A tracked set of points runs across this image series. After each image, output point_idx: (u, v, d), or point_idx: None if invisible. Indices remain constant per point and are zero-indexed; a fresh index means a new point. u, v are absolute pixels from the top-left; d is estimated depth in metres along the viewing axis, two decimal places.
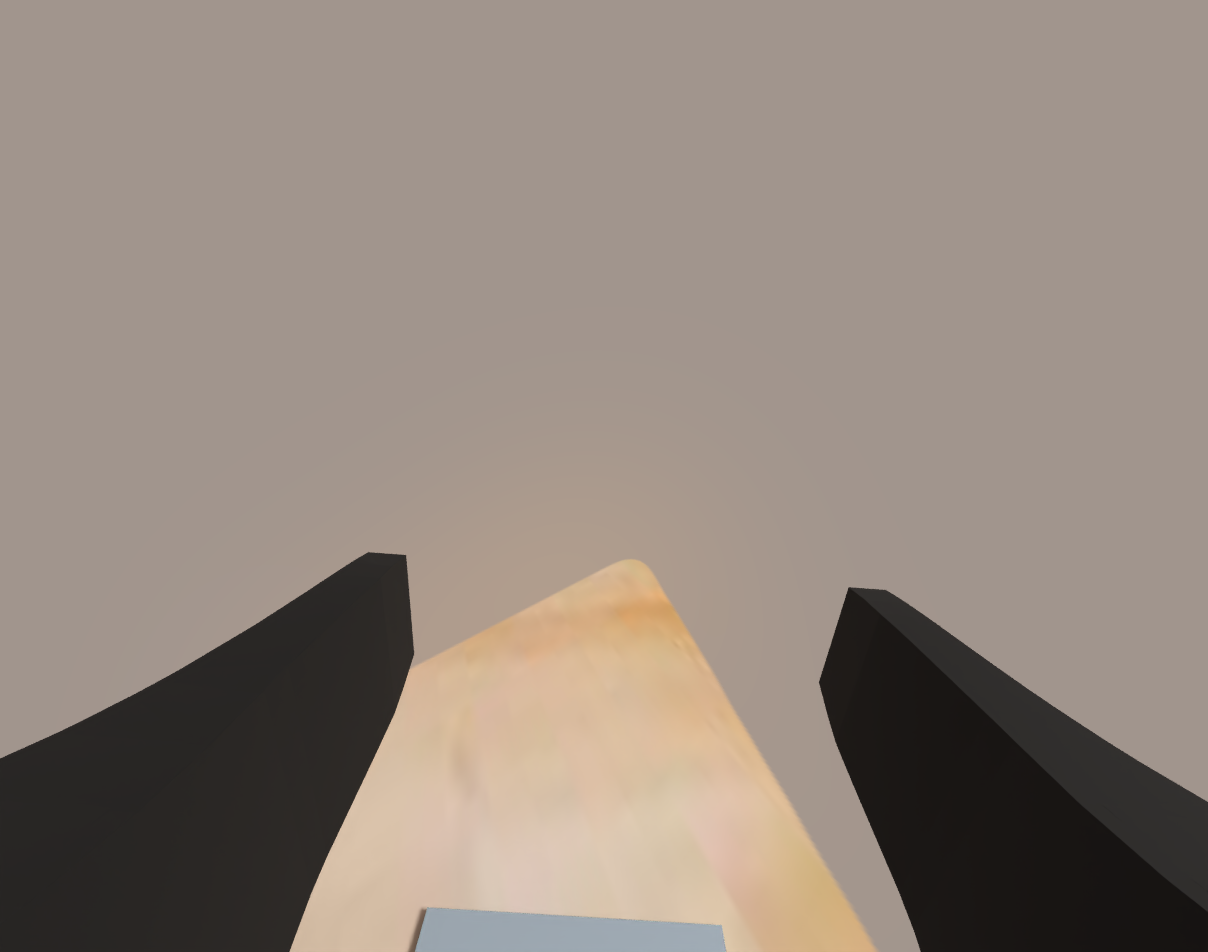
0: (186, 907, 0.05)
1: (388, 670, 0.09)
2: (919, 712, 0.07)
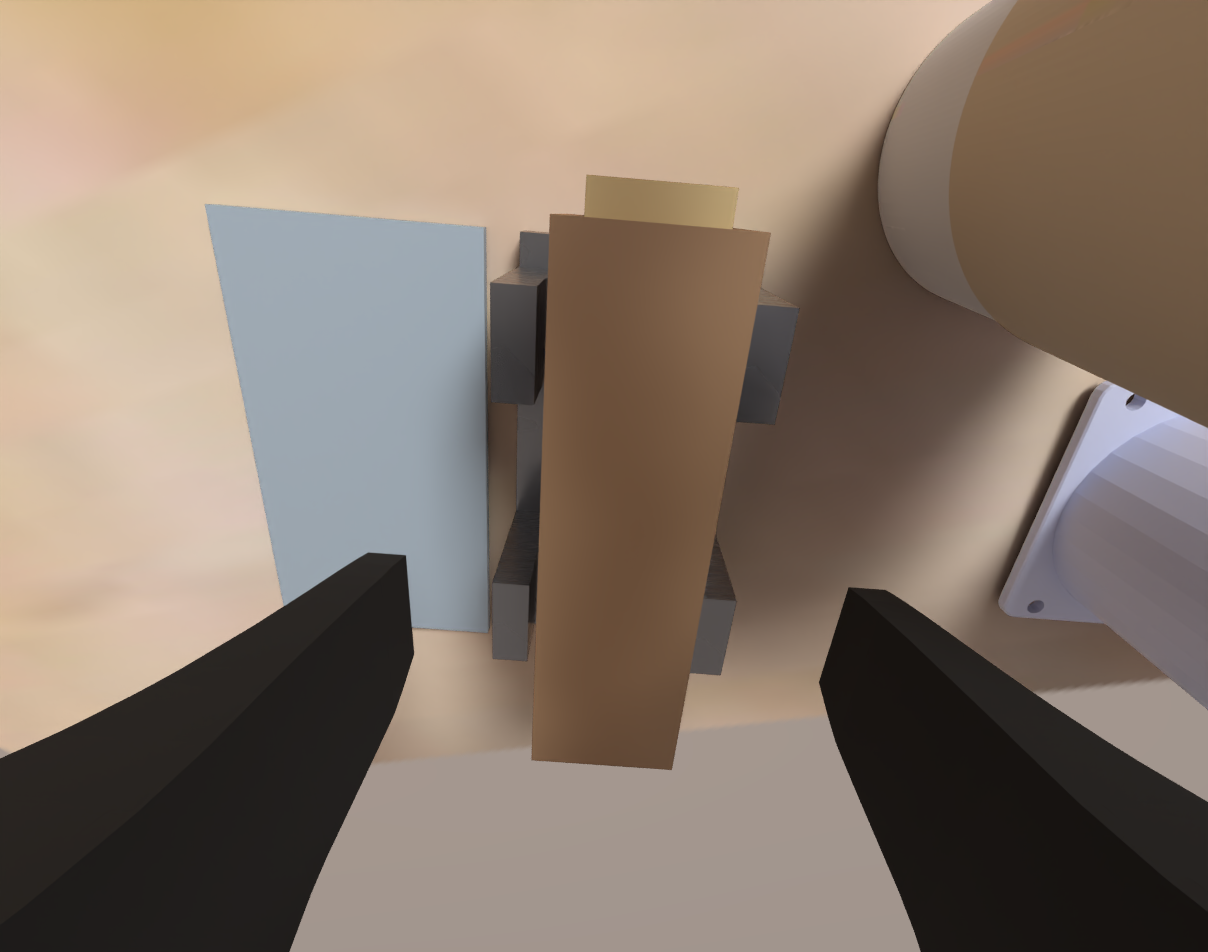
0: (186, 907, 0.05)
1: (388, 670, 0.09)
2: (919, 712, 0.07)
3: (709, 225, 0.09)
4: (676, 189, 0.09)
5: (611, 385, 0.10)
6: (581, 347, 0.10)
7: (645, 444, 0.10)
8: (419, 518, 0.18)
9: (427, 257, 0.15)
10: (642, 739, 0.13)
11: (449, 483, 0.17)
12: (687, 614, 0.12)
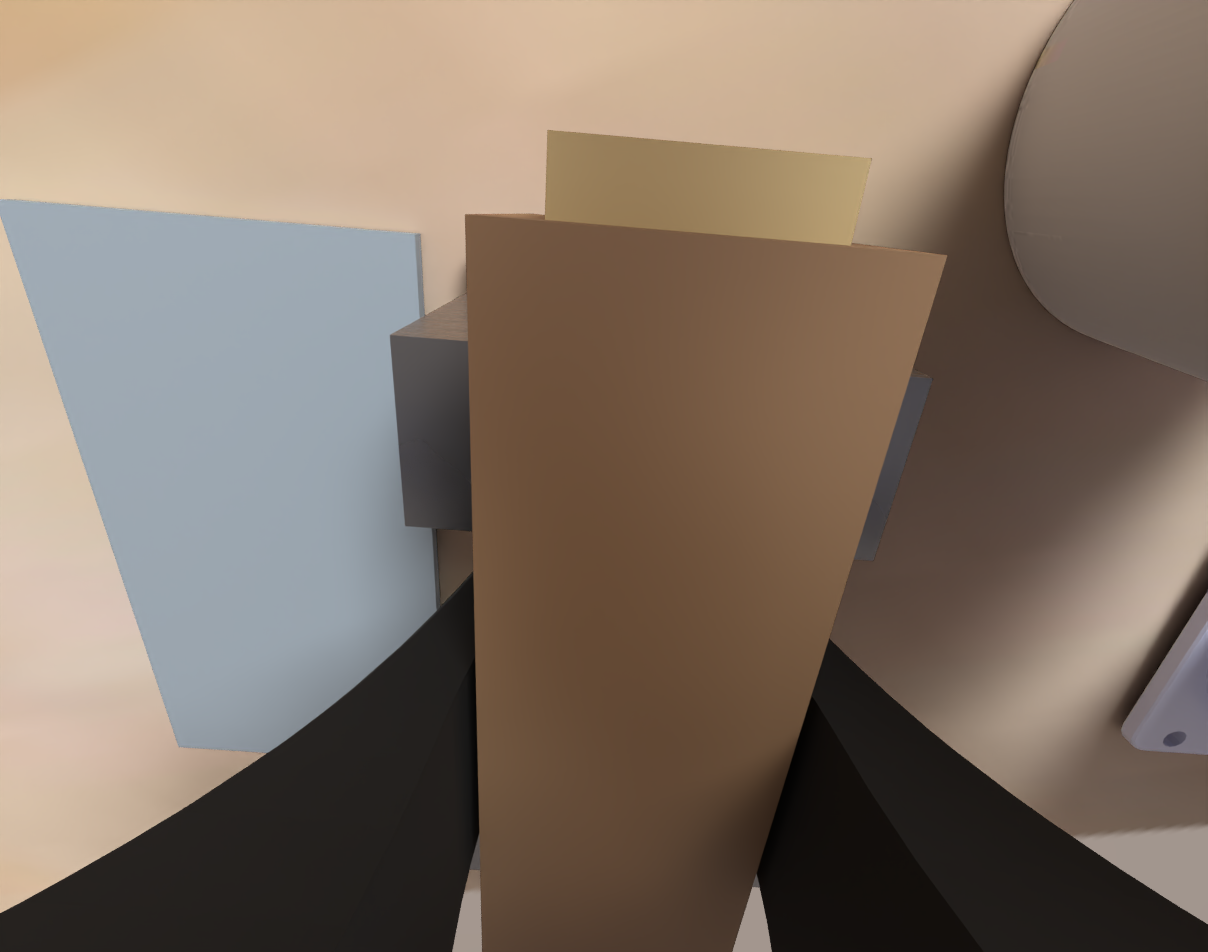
0: (412, 921, 0.05)
1: None
2: None
3: (803, 237, 0.04)
4: (738, 162, 0.04)
5: (602, 545, 0.05)
6: (542, 479, 0.05)
7: (665, 642, 0.06)
8: (345, 627, 0.13)
9: (334, 278, 0.10)
10: None
11: (384, 584, 0.13)
12: (732, 882, 0.07)
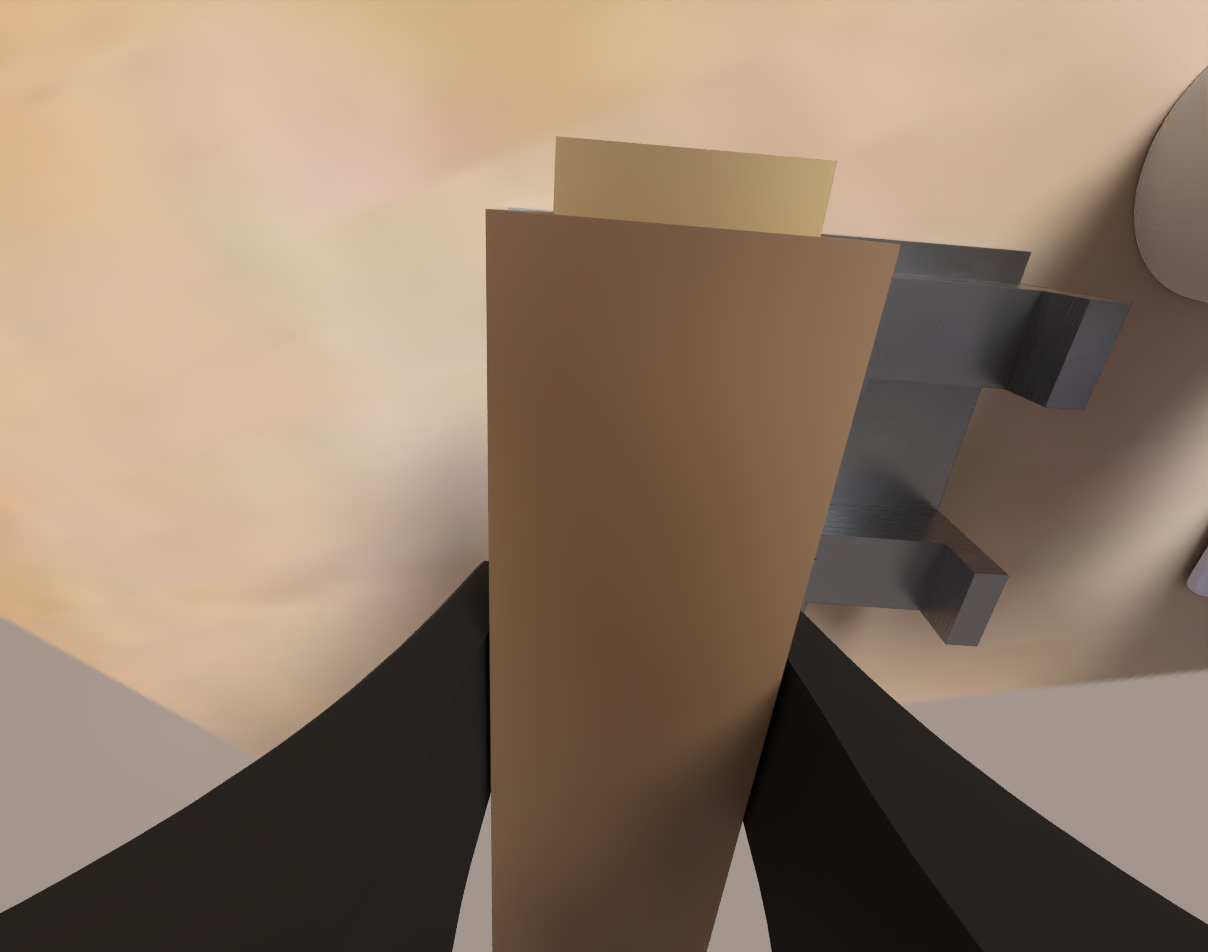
0: (412, 921, 0.05)
1: None
2: None
3: (779, 230, 0.05)
4: (721, 164, 0.05)
5: (604, 503, 0.06)
6: (550, 443, 0.05)
7: (660, 593, 0.06)
8: None
9: None
10: None
11: None
12: (722, 823, 0.08)
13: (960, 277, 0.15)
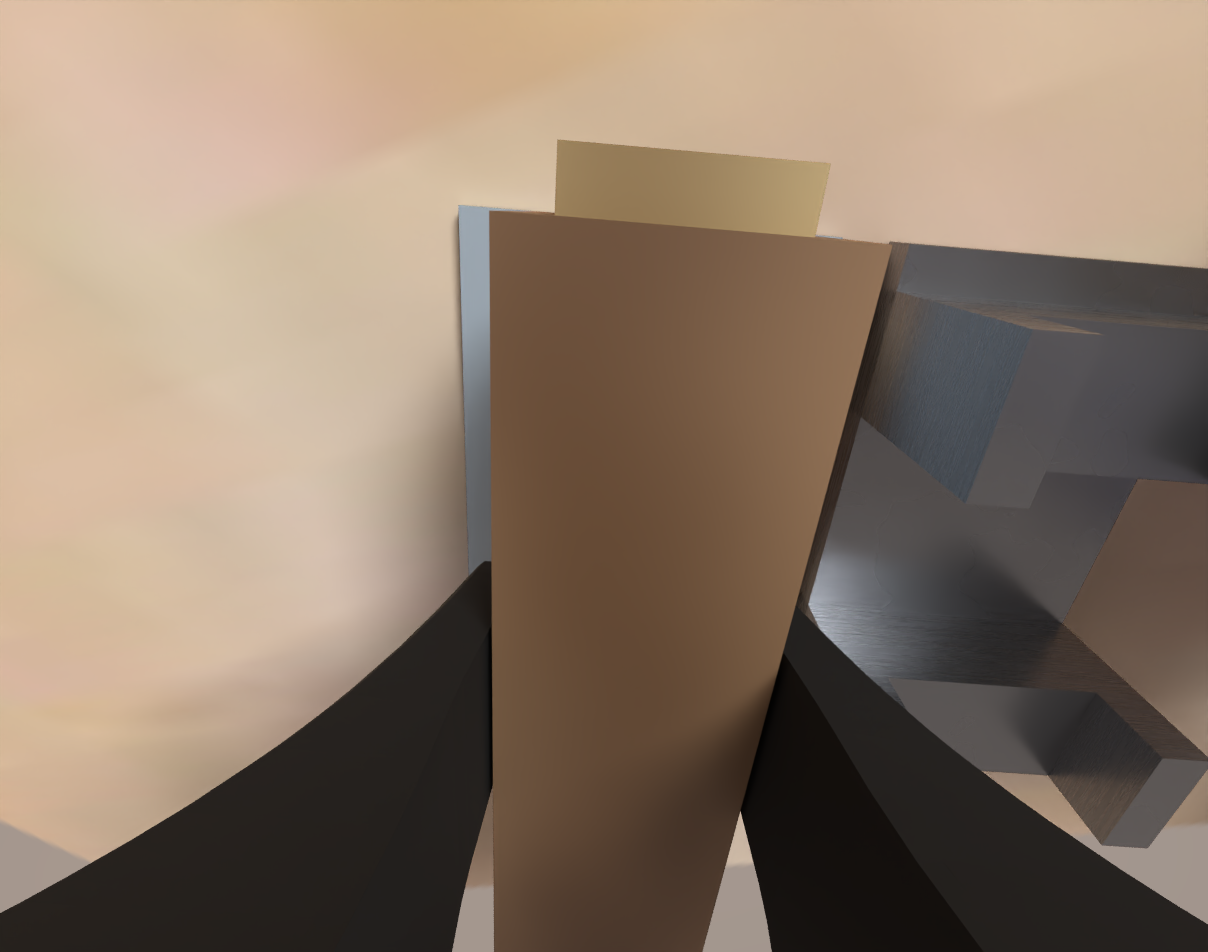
0: (412, 921, 0.05)
1: None
2: (774, 702, 0.07)
3: (774, 230, 0.05)
4: (718, 166, 0.05)
5: (604, 498, 0.06)
6: (551, 439, 0.06)
7: (660, 586, 0.06)
8: None
9: None
10: None
11: None
12: (720, 814, 0.08)
13: (1133, 309, 0.10)
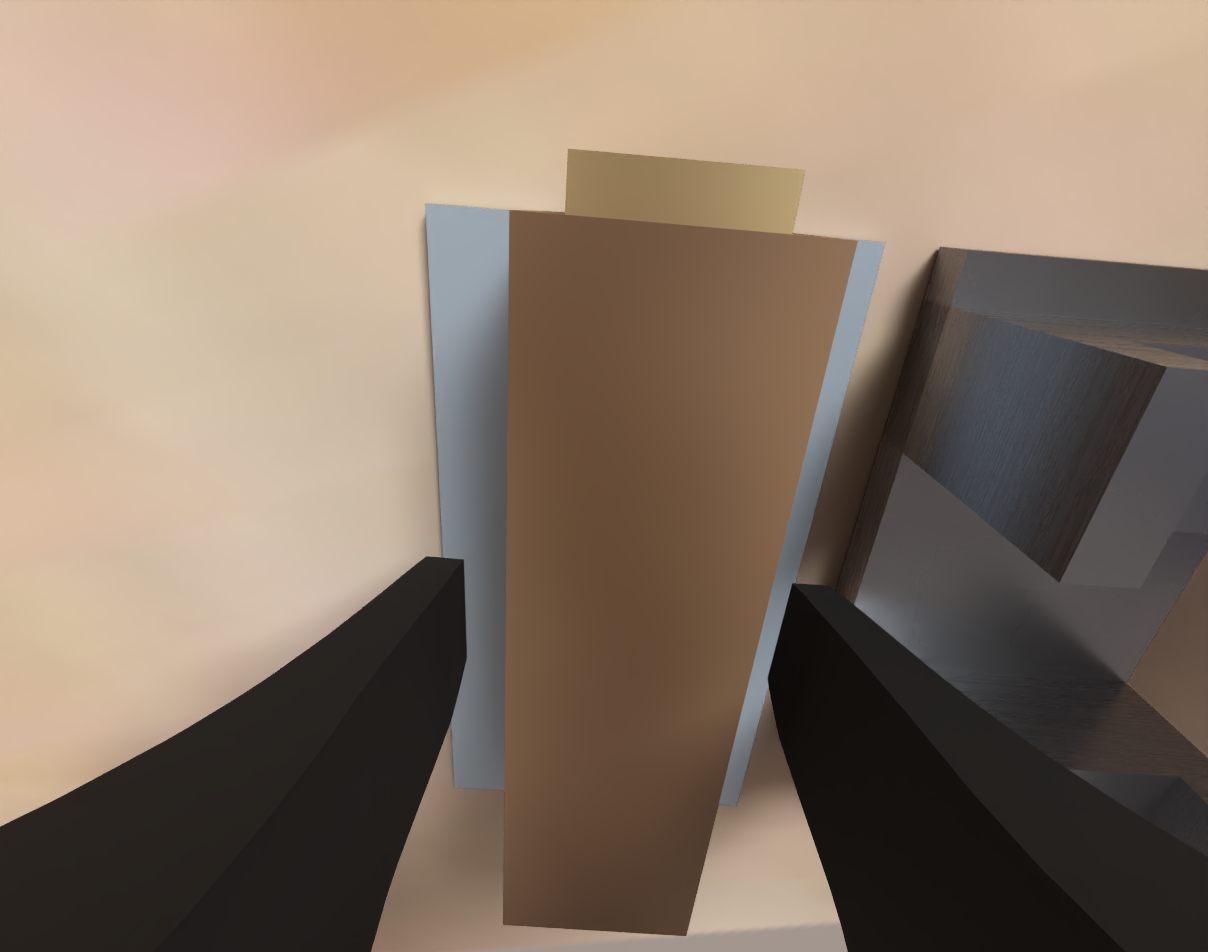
0: (298, 914, 0.05)
1: (449, 674, 0.09)
2: (847, 707, 0.07)
3: (757, 228, 0.06)
4: (708, 172, 0.06)
5: (608, 464, 0.07)
6: (561, 412, 0.06)
7: (656, 546, 0.07)
8: None
9: None
10: (648, 902, 0.10)
11: None
12: (711, 761, 0.09)
13: None
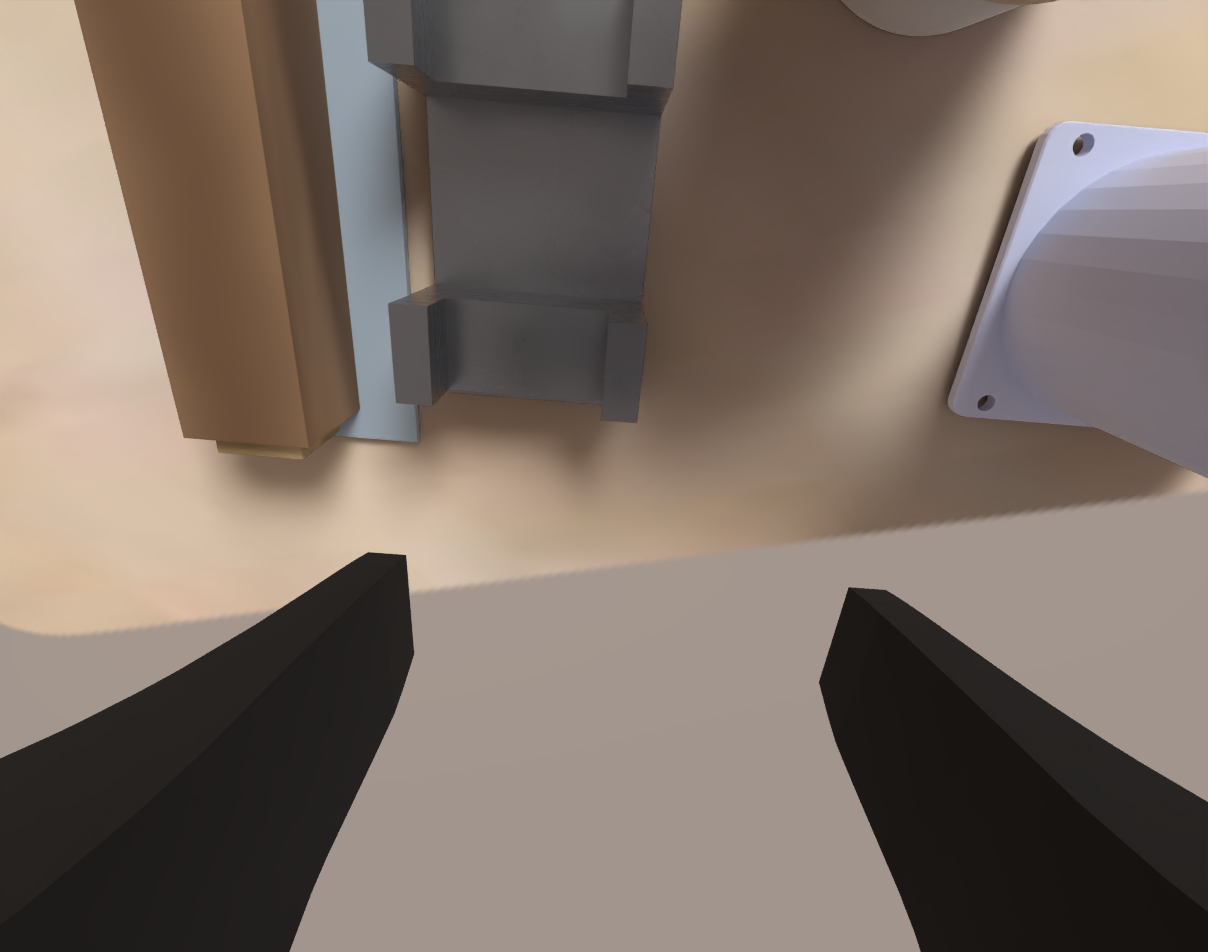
0: (186, 907, 0.05)
1: (388, 670, 0.09)
2: (919, 712, 0.07)
3: None
4: None
5: (133, 10, 0.12)
6: None
7: (180, 75, 0.12)
8: None
9: None
10: (274, 413, 0.15)
11: (366, 258, 0.17)
12: (269, 266, 0.14)
13: None
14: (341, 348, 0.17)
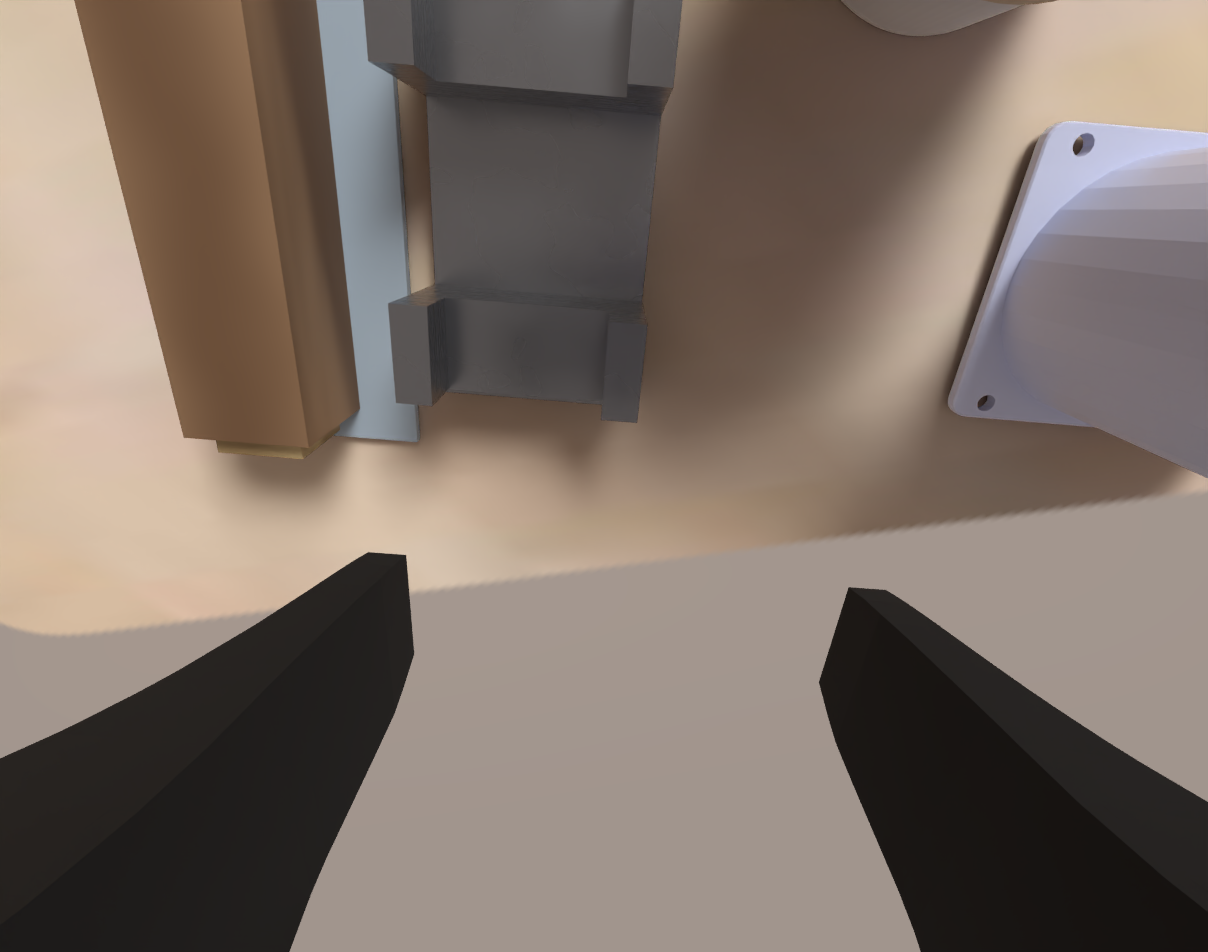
0: (186, 907, 0.05)
1: (388, 670, 0.09)
2: (919, 712, 0.07)
3: None
4: None
5: (133, 10, 0.12)
6: None
7: (180, 75, 0.12)
8: None
9: None
10: (274, 412, 0.15)
11: (366, 258, 0.17)
12: (269, 265, 0.14)
13: None
14: (341, 348, 0.17)
